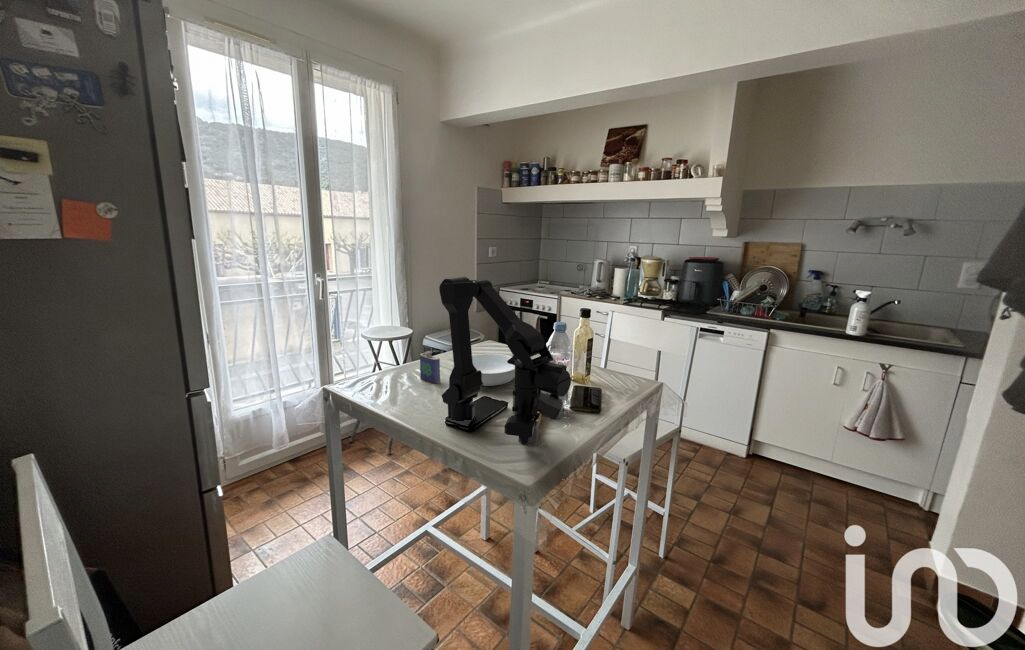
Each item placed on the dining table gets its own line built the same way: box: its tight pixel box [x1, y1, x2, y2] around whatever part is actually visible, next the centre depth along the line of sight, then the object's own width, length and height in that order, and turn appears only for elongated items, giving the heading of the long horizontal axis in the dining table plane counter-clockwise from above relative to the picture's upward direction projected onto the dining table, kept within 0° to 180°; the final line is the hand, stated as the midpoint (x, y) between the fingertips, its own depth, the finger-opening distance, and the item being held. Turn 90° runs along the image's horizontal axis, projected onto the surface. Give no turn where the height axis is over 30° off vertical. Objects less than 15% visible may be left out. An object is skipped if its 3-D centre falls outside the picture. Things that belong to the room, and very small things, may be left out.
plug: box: [518, 412, 542, 445], centre depth 108 cm, size 4×14×4 cm, turn 168°
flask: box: [419, 350, 441, 385], centre depth 139 cm, size 9×3×11 cm, turn 51°
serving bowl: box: [472, 353, 515, 387], centre depth 140 cm, size 21×21×7 cm
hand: (524, 444), depth 99 cm, fingers closed
